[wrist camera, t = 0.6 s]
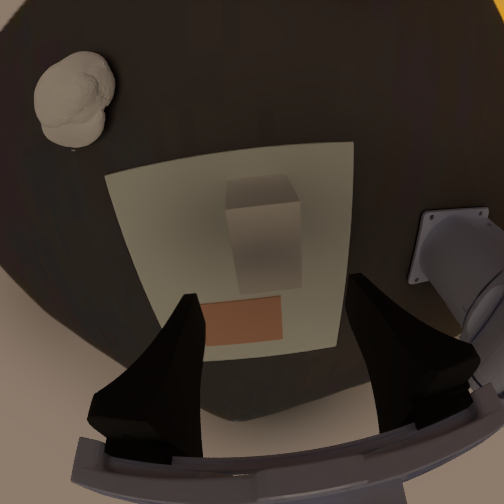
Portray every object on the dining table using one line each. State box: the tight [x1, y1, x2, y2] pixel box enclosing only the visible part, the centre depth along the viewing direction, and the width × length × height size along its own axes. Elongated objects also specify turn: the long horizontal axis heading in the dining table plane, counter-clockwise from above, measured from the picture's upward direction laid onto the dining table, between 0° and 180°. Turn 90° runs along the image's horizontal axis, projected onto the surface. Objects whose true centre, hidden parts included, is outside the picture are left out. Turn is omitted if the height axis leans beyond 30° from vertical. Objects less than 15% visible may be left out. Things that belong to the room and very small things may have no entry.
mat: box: [105, 141, 354, 361], centre depth 24 cm, size 18×22×1 cm
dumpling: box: [34, 51, 115, 151], centre depth 14 cm, size 7×5×4 cm
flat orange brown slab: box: [200, 295, 283, 346], centre depth 27 cm, size 8×6×1 cm
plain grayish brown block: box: [225, 173, 302, 295], centre depth 19 cm, size 4×6×5 cm, turn 6°
